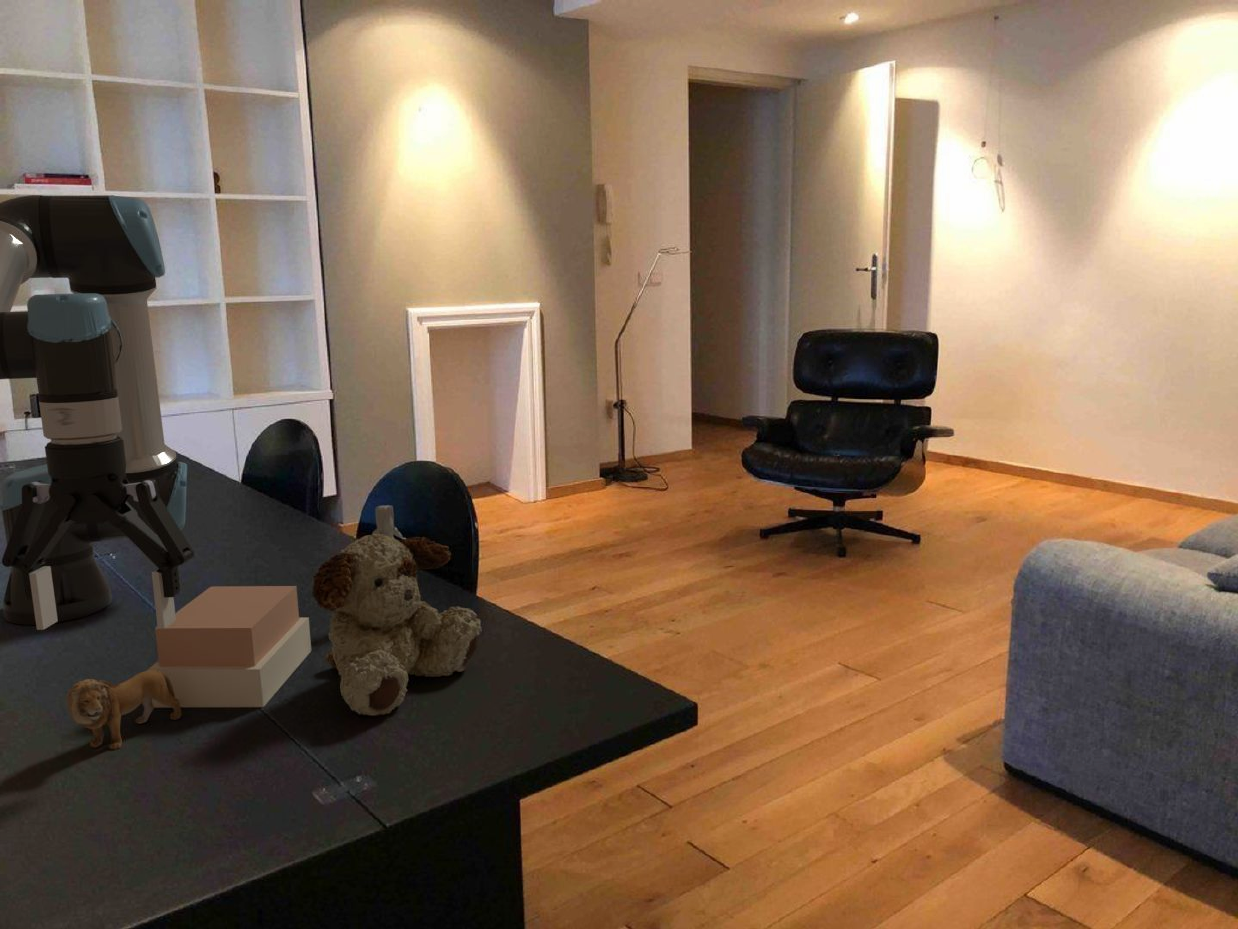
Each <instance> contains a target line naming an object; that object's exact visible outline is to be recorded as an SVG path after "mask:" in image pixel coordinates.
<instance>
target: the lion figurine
mask: <svg viewBox="0 0 1238 929" xmlns="http://www.w3.org/2000/svg"><path fill="white" fill-rule="evenodd" d="M66 697H67V698H66V707H67V709H68V712H69V713H70V716H71V718H72V720H73V721H74V722H75V723H76V724H78V725H81V726H82V727H83V728H87V729H89V730H92V733H93V736H94V739H93V740H91V741H90V744H89V745H90V747H91V748H97V747H99V746H101V745H102V744H103V741H104V735H105V734H104V731H103V727H104V726H106V725H107V726H108V728H109V730H110V741H111V743H110V744H109V749H110V750H116V749H117V748H118V749H120V748H121V747H122V744H123V740H122V736H121V719H122V716H123V715H127V714H128V713H129V714H130V713H131V712H132V711H134V710H136V709H137V708H138V707H139V706H140V705H142V707H143V713H142V714H141V716H139V717H137V718H136V719H135V721H134V722H135V724H139V725H140V724H143V723H146V722H147V721H148V720H149V717H150V715H151V713H152V712H153V711H154V708H155V707H154V706H153V704H152V699H154V700H155V701H157V702H159V703H160V704H163V705H167V706H170V707H169V708H172V709H173V711H172V712H171V714H169V716H170V717H169V718H170V720H179V719H181V717H182V709H181V708H182V707H180V703H179V701H178V699H176V698H175V694H174V691H173V687H172V684H171V682H170V680H169V679H168V677H167V676H166V675H165V674H164V673H162V672H160V671H157V670H149V671H148V670H145V671H141V672H138V673H137V674H135V675H134V676H132V677H131V678H128V679H127V680H125V681H123V682H121V683H119V684H118V683H112V682H110V681H107V680H105V679H104V680H96V679H94V678H88V679H87V678H86V679H83V680H81V681H80V680H79V681H77V683H74V684H73V685H72V686H71V690H70V691H69V692H67V694H66Z"/></svg>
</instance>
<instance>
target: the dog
mask: <svg viewBox="0 0 1238 929" xmlns="http://www.w3.org/2000/svg"><path fill="white" fill-rule="evenodd" d="M405 538H406V537H405ZM449 548H450V547H449V546H448V545H442V544H440V543H438V542H437V543H436V541H435V540H434V541H433V540H430V539H429V538H427V537H425V536H421V537H420V536H418V537H417V536H415V537H414V536H409V537H408V538H406V539H401V538H400V539H396V538H395V537H394V536H393V537H391V538H390V537H389V536H385V535H383V534H369V535H364V536H361V537H360V538H358V539H356V540H354V541H353V542H352V543H349V544H348V545H347V546H346V547H345V548H344V549H341V550H340V551H339V553H337V554H335V555H333V556H330V559H329V560H325V561H324V562H323V563H322V564H320V566H319V567H318V571H317V572H314V574H313V575H312V578H313V579H312V580H313V582H314V583H313V585H312V593H311V595H312V597H313V598H314V600H315V601H316V602H317V605H318V606H319V607H320V608H323V609H324V610H325V611H331V612H334V611H335V612H334V613H333V614H331V618H330V625H328V626H329V629H330V630H329V632H328V633H327V636H328V639H329V640H330V641H331V644H332V648H331V652H326V654H325V658H324V660H325V661H326V662H328V663H329V665H330V666H332V667H333V668H334V669H337V671H338V675H339V676H340V684H339V689H340V693H341V694H340V695H341V697H342V698H343V699H344V702H345V703H346V704H347V705H348V706H349V708H350V710H351V711H353V712H356V714H358V715H365V716H380V715H386V714H390V713H392V710H395V708H397V707H398V706H401V704H402V703H403V702H404V699H405V697H406V692H408V689H407V686H408V682H409V675H410V676H413V675H414V676H417V677H420V676H421V677H430V678H431V677H433V678H435V677H438V678H439V677H440V678H441V677H442V676H445V677H448V676H452V675H453V674H454V672H461V673H462V672H463V671H465V669H466V666H467V665H468V664H469V661H470V660H471V659H472V657H473V655H474V653H475V652H476V650H477V647H478V643H479V638H480V634H481V632H482V631H483V630H482V629H483V627H482V626H481V619H480V618H477V617H478V614H476V613H475V612H474V611H473V609H471V608H465V607H460V606H450V607H449V608H448V610H443V611H442V612H439V610H438V609H437V608H434V607H432V606H431V605H430V604H429V603H427V602H426V601H422V600H421V594H420V587H419V581H418V574H417V571H418V569H420V570H430V569H432V570H433V569H435V570H437V569H439V568H441V567H444V566H445V565H446V564H447V563H449V561H450V560H451V556H452V553H451V551H450V550H449Z"/></svg>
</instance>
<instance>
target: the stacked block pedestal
mask: <svg viewBox="0 0 1238 929" xmlns="http://www.w3.org/2000/svg"><path fill="white" fill-rule="evenodd" d="M297 589H298V588H297V585H275V586H274V585H268V586H267V585H253V586H252V585H251V586H250V585H248V586H245V585H244V586H242V585H241V586H236V585H235V586H232V585H230V586H229V585H228V586H225V585H224V586H219V585H218V586H217V585H215V586H210V587H208V588H207V589H205V590H204V591H202V593H201V594H198V596H196V597H195V598H194V599H192V600H191V601H190V602H188V603H187V604H186V605H184V606H183V607H182V608H180V609H179V610H178V611H175V616H176V620H175V621H174V622H173V623H171V624H170V625H169V626H167V627H166V628H165V629H158V626H156V627H155V628H154V631H155V638H156V650H157V657H158V660H157V661H156V662H155V663H154V664H153V665H152V666H150V667H149V668H148V669H147V671H149V670H157V671H160V672H162V673H164V674H165V675H166V676H167V677H168V679H169V680H170V682H171V684H172V687H173V691H174V694H175V698H176V699H178V701H179V703H180V708H264V707H265V706H266V705H267V704H268V702H270V700H271V699H272V698H273V696H274V695H275V694H276V693H277V692H278V691H279V689H280V688H281V687H283V685H284V684H285V683H286V682H287V680H288V679H289V678H290V677H291V675H292V674H293V673H294V672H295V671H296V669H297V668H298V667H299V666H300V665H301V664H302V663H303V662H304V660H305V659H306V658H307V657H308V656H309V654H310V653H311V652H312V644H311V643H312V641H311V630H310V618H309V617H300V615H299V614H300V612H299V603H298V601H299V600H298V590H297ZM152 704H153V706H154V708H171V707H170V706H167V705H163V704H160V703H159V702H157V701H155V700H154V699H152Z"/></svg>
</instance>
